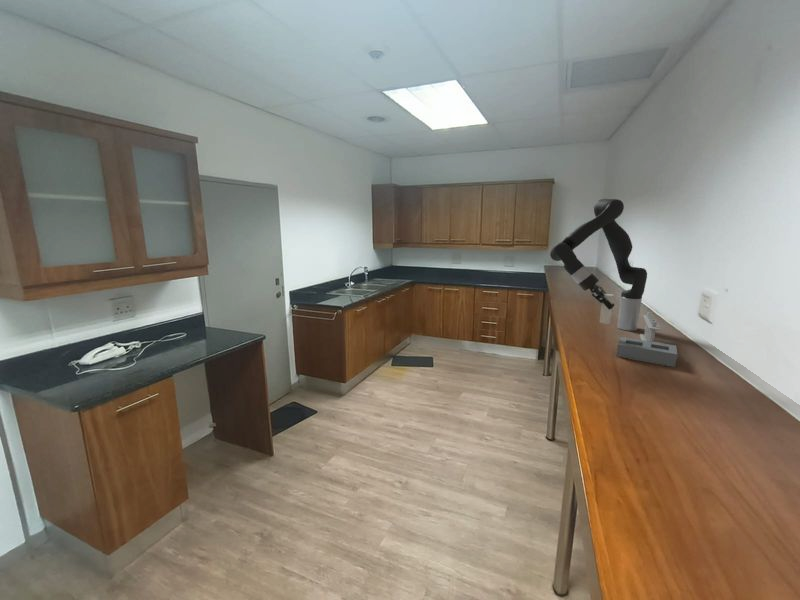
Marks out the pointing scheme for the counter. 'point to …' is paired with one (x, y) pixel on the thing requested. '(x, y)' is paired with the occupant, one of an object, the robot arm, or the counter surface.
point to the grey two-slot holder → (647, 351)
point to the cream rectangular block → (606, 310)
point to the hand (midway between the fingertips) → (612, 307)
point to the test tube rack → (649, 328)
